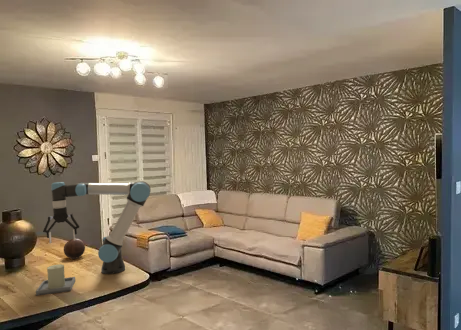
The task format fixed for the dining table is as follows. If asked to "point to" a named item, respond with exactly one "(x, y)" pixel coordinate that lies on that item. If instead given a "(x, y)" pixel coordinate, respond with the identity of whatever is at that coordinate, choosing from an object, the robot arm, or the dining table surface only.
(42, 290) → the tray
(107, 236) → the robot arm
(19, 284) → the dining table surface
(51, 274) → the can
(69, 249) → the wooden sphere
